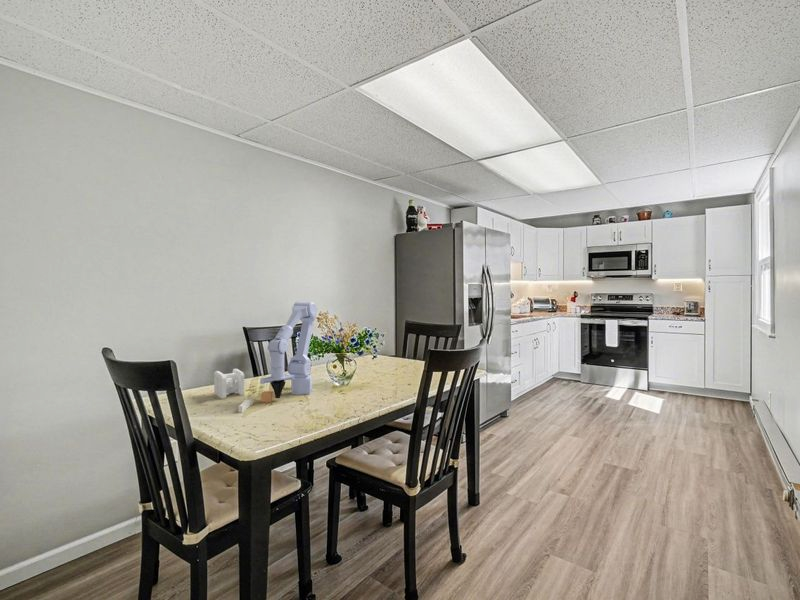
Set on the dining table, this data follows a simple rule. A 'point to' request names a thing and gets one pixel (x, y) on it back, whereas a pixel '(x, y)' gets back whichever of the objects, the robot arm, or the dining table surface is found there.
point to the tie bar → (245, 404)
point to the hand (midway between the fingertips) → (277, 397)
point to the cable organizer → (228, 383)
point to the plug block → (267, 396)
